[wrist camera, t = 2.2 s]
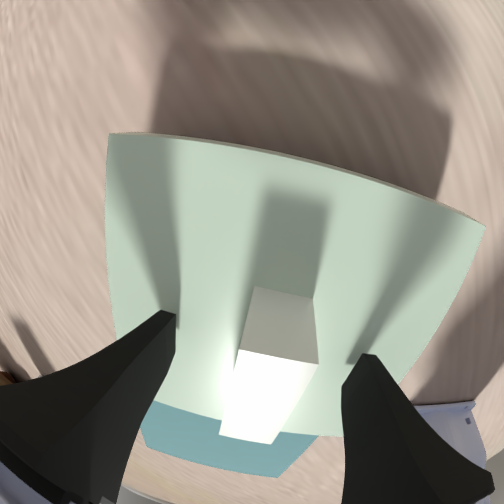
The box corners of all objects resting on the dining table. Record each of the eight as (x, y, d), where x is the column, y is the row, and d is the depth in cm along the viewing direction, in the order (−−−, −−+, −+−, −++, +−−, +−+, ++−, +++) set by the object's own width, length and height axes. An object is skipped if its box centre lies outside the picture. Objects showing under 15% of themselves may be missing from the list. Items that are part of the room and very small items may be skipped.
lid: (462, 211, 9) (536, 262, 4) (348, 414, 14) (354, 478, 10) (135, 131, 9) (43, 142, 5) (139, 369, 15) (107, 428, 10)
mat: (331, 415, 17) (331, 420, 17) (277, 474, 24) (277, 477, 24) (127, 367, 18) (125, 372, 18) (148, 443, 25) (146, 446, 24)
